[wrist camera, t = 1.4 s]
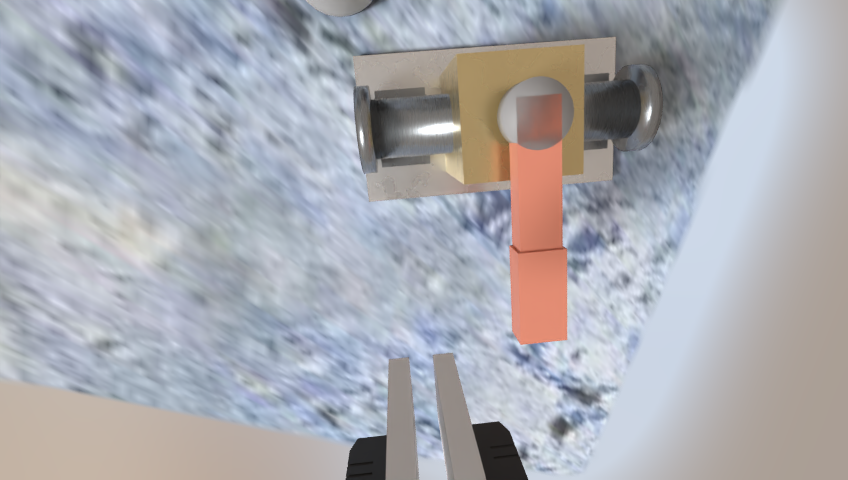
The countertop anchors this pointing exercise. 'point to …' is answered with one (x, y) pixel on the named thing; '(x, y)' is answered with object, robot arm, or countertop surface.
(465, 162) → the valve
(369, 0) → the cup
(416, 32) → the countertop surface
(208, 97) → the countertop surface
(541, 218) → the lever
